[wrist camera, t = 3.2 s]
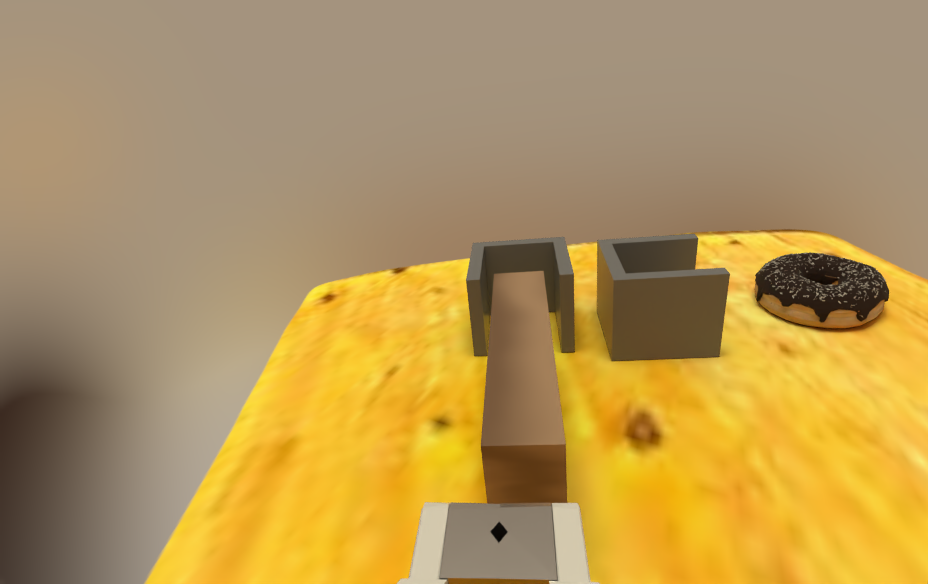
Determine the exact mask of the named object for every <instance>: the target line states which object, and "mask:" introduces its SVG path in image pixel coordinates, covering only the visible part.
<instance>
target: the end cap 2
mask: <svg viewBox="0 0 928 584" xmlns="http://www.w3.org/2000/svg"><path fill="white" fill-rule="evenodd" d="M697 244H698V238H697V236H696V235H695V234H684V235H669V236H653V237H639V238H623V239H607V240H597V314H598V317H599V320H600V324H601V327H602V330H603V334H604V337H605V340H606V344H607V347H608V350H609V354H610V357H611V360H612V361H623V360H648V359H674V358H700V357H719V354H720V346H721V338H722V331H723V323H724V315H725V307H726V300H727V292H728V284H729V276H730V273H729V272H728V271H727V270H726V269H725V268H714V269H696V270H695V265H696V255H697Z"/></svg>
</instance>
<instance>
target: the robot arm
mask: <svg viewBox="0 0 928 584" xmlns="http://www.w3.org/2000/svg"><path fill="white" fill-rule="evenodd" d="M397 584H600V583H599V582H590V575H589V568H588V561H587V554H586V547H585V540H584V533H583V526H582V519H581V512H580V507H579V505H578V503H552V504H551V503H500V504H482V503H431V502H425V504H424V506H423V508H422V511H421V516H420V522H419V527H418V532H417V537H416V543H415V548H414V553H413V558H412V564H411V569H410V574H409V579H400V580H399V581H398V583H397Z"/></svg>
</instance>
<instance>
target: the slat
mask: <svg viewBox="0 0 928 584" xmlns="http://www.w3.org/2000/svg"><path fill="white" fill-rule="evenodd" d="M481 451H482V460H483V469H484V477H485V486H486V495H487V504H500V503H551V504H552V503H567V484H566V444H565V436H564V428H563V420H562V413H561V405H560V397H559V389H558V381H557V373H556V365H555V358H554V350H553V342H552V334H551V326H550V318H549V311H548V303H547V295H546V287H545V279H544V271H533V272H516V273H499V274H494V281H493V294H492V307H491V320H490V333H489V347H488V360H487V373H486V386H485V399H484V412H483V425H482V439H481Z"/></svg>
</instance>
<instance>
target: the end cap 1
mask: <svg viewBox="0 0 928 584" xmlns="http://www.w3.org/2000/svg"><path fill="white" fill-rule="evenodd" d="M533 271H544V279H545V287H546V295H547V303H548V311H549V312H555V313H556V319H557V326H558V332H559V339H560V345H561V352H562V353H564V352H575V340H574V273H573V269H572V265H571V261H570V257H569V253H568V250H567V246H566V242H565V238H564V237H556V238H541V239H526V240H511V241H498V242H497V241H496V242H483V243H473V246H472V251H471V257H470V262H469V268H468V273H467V279H466V283H467V292H468V301H469V310H470V319H471V328H472V338H473V347H474V356H487V350H488V337H489V324H490V315H491V307H492V294H493V281H494V274H499V273H516V272H533Z"/></svg>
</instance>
